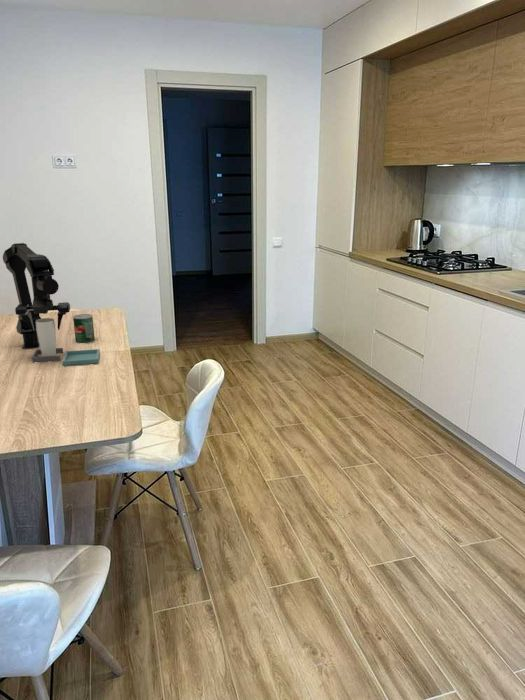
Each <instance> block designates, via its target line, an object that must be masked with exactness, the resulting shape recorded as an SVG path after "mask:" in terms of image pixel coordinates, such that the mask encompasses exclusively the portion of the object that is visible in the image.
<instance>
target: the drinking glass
mask: <svg viewBox="0 0 525 700" xmlns="http://www.w3.org/2000/svg"><path fill="white" fill-rule="evenodd" d="M55 322H56V321H55V319H54V318H51V317H45V318H44V317H43V318H41V319H38V320H36V331H37V336H38V340H39V344H40V346H39V349H41V356H57V354H58V353H56V348H57V340H56V339H57V336H56V335H57V332H56V331H57V330H56V323H55Z"/></svg>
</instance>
